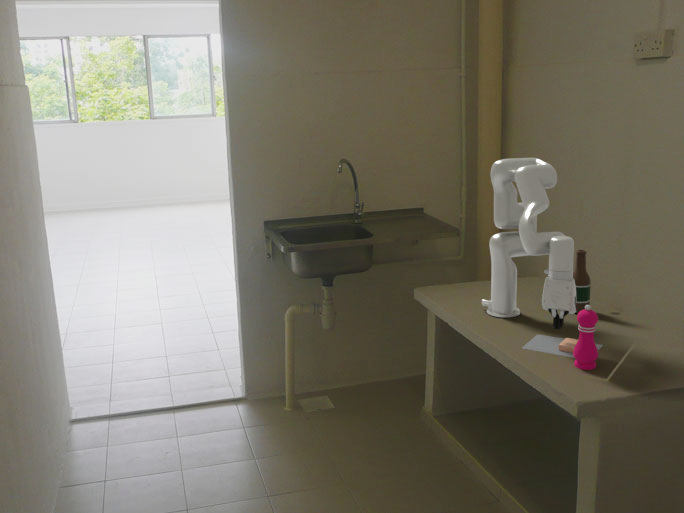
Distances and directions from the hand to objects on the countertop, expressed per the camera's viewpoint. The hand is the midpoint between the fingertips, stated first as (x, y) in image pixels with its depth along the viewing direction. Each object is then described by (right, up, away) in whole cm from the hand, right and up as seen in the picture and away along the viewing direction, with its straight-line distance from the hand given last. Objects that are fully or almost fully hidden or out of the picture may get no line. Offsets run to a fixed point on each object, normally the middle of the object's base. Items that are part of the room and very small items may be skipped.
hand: (558, 328), depth 227 cm
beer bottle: (+20, +2, +39) cm, 44 cm away
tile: (+1, -5, 0) cm, 5 cm away
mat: (+1, -7, +1) cm, 7 cm away
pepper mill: (+3, -11, -16) cm, 19 cm away
